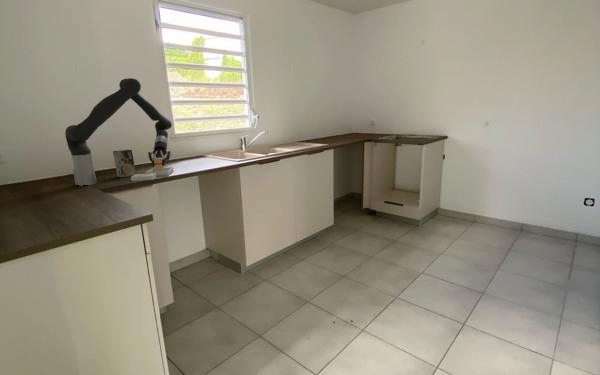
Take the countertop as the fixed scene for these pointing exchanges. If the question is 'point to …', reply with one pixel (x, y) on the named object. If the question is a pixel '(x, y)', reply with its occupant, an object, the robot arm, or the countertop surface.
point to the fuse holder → (143, 177)
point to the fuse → (158, 165)
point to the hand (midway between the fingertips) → (158, 165)
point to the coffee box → (124, 163)
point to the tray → (161, 172)
